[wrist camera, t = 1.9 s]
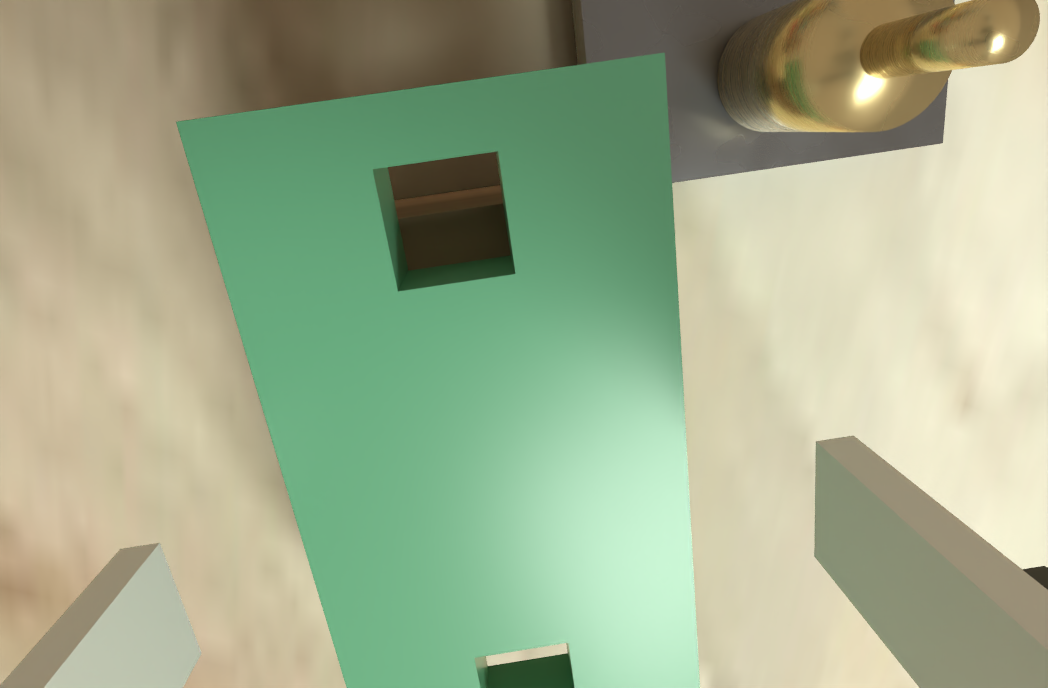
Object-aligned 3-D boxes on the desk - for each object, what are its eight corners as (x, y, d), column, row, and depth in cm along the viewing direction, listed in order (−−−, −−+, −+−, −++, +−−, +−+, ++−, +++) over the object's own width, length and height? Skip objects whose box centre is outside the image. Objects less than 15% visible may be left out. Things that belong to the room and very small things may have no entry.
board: (219, 123, 13) (176, 122, 11) (638, 63, 13) (665, 52, 12) (386, 717, 19) (375, 782, 17) (679, 669, 19) (701, 728, 17)
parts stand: (375, 203, 19) (340, 227, 14) (539, 179, 19) (559, 195, 14) (445, 535, 23) (436, 641, 18) (580, 514, 23) (607, 614, 18)
